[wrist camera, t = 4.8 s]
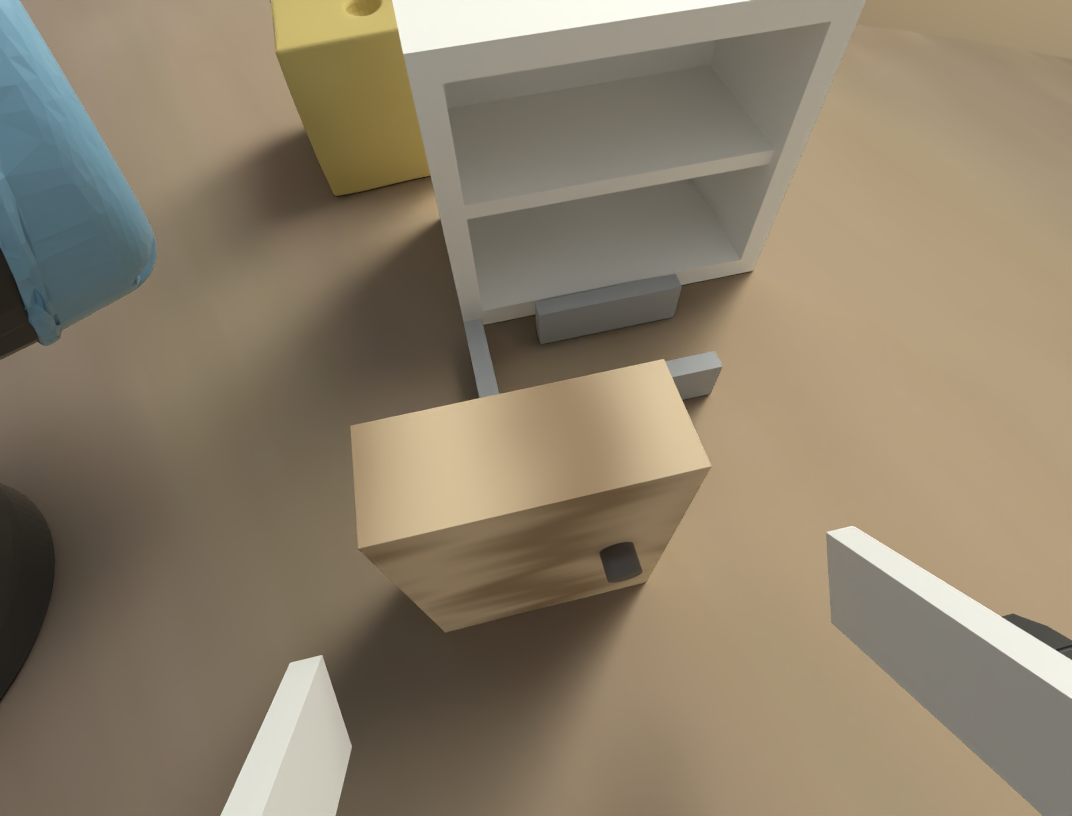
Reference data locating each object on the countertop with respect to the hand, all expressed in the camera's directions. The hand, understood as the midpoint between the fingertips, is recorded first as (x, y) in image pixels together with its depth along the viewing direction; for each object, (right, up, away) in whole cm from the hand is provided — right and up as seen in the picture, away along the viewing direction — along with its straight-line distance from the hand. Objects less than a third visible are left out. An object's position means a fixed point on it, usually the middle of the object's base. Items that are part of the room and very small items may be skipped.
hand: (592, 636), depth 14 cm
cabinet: (+3, +13, +20) cm, 24 cm away
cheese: (-12, +26, +28) cm, 40 cm away
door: (-1, -1, +11) cm, 11 cm away
